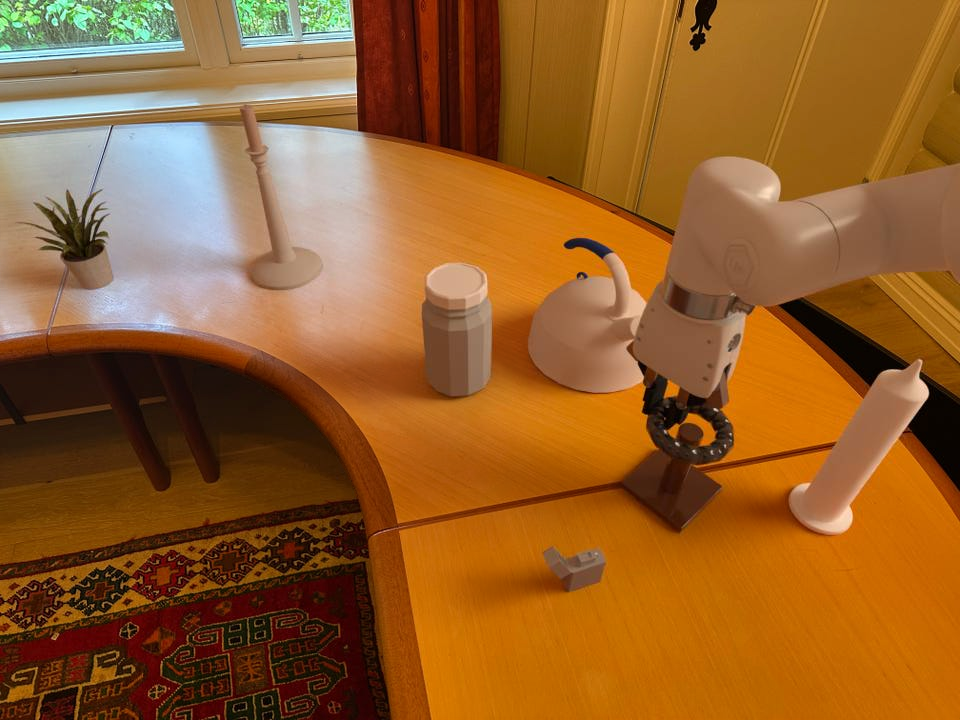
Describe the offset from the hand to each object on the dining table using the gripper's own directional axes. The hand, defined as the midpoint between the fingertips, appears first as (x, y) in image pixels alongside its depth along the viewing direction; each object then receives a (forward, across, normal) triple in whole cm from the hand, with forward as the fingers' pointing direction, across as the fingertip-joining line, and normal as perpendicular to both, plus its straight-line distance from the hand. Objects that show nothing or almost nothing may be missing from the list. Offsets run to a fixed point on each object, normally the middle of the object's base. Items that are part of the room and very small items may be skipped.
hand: (662, 414), depth 71 cm
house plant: (+11, +91, +38) cm, 99 cm away
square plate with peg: (+11, -4, 0) cm, 11 cm away
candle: (+11, -18, -11) cm, 24 cm away
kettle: (+11, +20, -13) cm, 26 cm away
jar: (+11, +29, +7) cm, 32 cm away
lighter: (+11, -4, +19) cm, 22 cm away
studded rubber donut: (-1, -4, 0) cm, 4 cm away
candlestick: (+11, +72, +12) cm, 74 cm away
